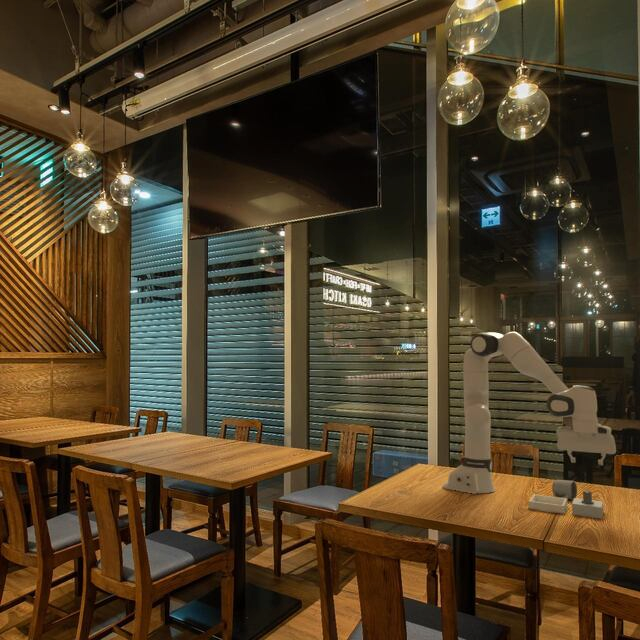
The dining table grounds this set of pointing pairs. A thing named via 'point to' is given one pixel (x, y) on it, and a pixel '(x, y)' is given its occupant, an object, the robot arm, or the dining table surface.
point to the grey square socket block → (587, 508)
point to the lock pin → (587, 497)
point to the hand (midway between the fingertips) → (586, 463)
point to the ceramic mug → (564, 489)
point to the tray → (548, 504)
